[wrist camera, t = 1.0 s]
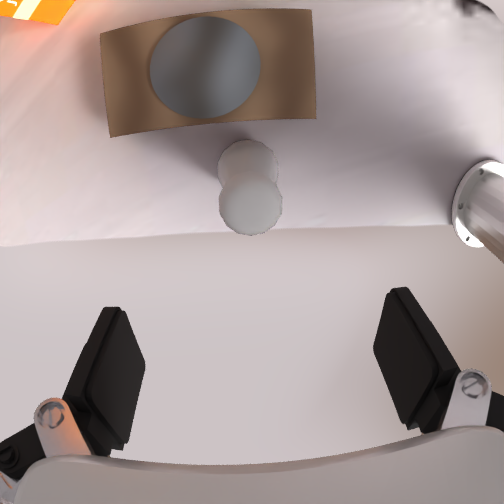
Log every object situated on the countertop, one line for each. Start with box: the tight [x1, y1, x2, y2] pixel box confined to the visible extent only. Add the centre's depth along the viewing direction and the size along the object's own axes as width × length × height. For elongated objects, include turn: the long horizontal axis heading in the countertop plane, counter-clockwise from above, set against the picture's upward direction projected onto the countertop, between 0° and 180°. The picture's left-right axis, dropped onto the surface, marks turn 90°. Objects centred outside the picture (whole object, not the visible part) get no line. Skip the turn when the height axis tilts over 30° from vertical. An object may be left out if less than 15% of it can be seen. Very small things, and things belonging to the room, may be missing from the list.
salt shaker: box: [218, 139, 282, 236], centre depth 26 cm, size 6×6×13 cm
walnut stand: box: [100, 9, 316, 138], centre depth 24 cm, size 18×10×6 cm, turn 93°
